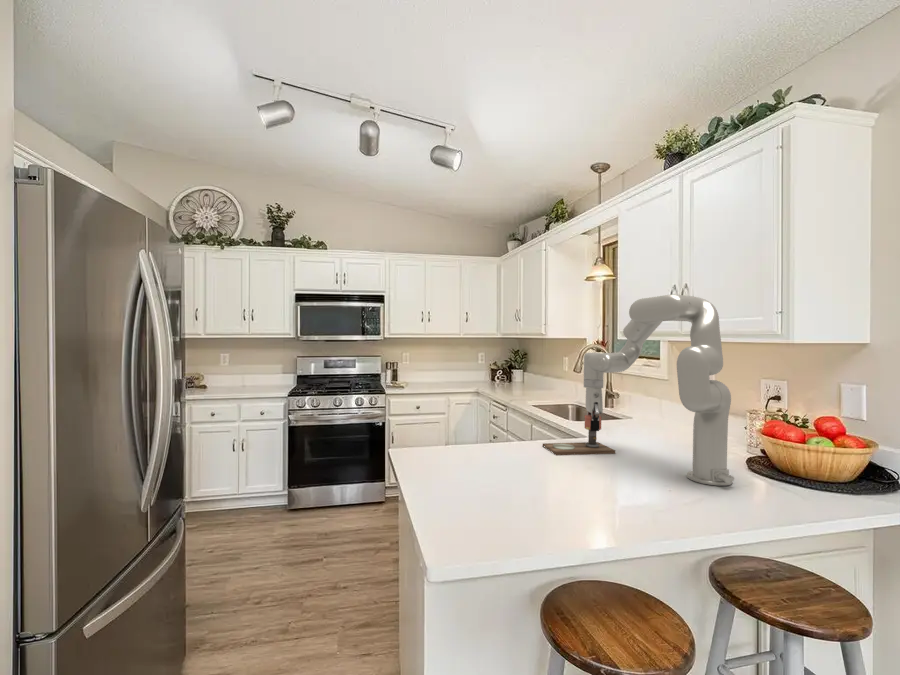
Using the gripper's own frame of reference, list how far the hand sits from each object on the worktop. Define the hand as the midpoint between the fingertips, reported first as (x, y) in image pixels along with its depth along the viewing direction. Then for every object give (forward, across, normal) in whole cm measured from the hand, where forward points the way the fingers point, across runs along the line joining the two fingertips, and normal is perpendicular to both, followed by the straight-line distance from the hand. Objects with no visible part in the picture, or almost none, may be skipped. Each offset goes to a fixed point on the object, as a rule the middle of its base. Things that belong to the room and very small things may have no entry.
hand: (592, 428), depth 184 cm
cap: (0, 0, 0) cm, 0 cm away
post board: (+8, -1, +6) cm, 10 cm away
